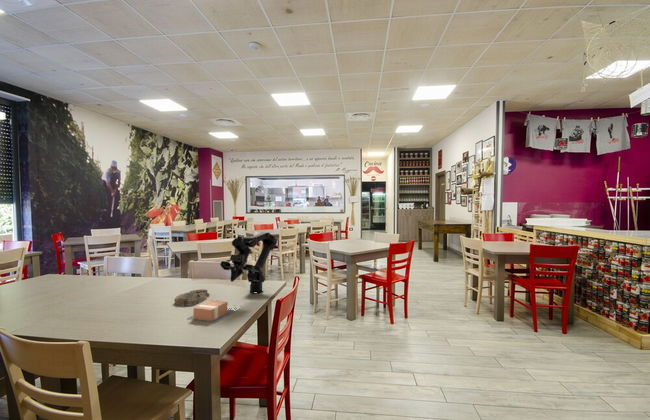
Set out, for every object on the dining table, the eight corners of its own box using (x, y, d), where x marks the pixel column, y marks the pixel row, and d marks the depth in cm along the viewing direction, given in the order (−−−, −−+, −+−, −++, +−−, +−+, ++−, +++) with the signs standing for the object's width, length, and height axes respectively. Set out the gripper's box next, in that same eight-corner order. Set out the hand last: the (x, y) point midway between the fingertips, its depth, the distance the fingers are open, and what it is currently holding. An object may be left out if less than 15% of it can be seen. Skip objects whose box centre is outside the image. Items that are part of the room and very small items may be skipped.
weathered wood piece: (195, 294, 171) (170, 304, 152) (196, 286, 171) (170, 295, 152) (216, 296, 168) (192, 307, 148) (216, 288, 168) (193, 298, 149)
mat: (217, 304, 152) (217, 303, 152) (243, 307, 148) (243, 306, 148) (186, 319, 131) (186, 319, 131) (216, 323, 126) (216, 322, 126)
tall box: (210, 300, 142) (193, 307, 131) (227, 301, 140) (211, 309, 128) (210, 310, 142) (193, 318, 131) (227, 312, 140) (211, 321, 128)
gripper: (222, 246, 158) (209, 271, 148) (254, 250, 154) (242, 276, 144) (229, 256, 166) (217, 281, 156) (259, 261, 162) (249, 286, 152)
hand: (231, 281), depth 152 cm, fingers closed
